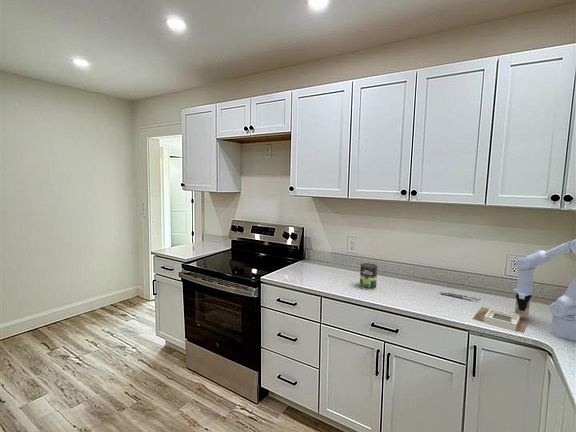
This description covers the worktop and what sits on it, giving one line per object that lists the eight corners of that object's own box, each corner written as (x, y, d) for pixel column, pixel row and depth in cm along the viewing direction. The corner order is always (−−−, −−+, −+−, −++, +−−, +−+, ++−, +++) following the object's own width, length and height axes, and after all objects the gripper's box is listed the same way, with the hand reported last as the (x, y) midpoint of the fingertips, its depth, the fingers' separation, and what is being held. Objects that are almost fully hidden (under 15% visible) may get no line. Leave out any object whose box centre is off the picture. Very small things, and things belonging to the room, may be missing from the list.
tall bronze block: (515, 311, 152) (517, 295, 151) (528, 314, 149) (530, 298, 148) (515, 312, 150) (516, 297, 150) (527, 316, 147) (529, 299, 146)
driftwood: (438, 295, 183) (438, 291, 183) (441, 292, 188) (441, 288, 188) (479, 304, 170) (479, 300, 170) (481, 301, 176) (481, 297, 175)
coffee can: (374, 291, 187) (375, 268, 185) (357, 288, 192) (358, 266, 190) (378, 286, 196) (379, 264, 194) (361, 283, 201) (362, 262, 199)
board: (529, 320, 149) (529, 318, 149) (523, 334, 135) (524, 333, 135) (481, 308, 163) (481, 306, 163) (471, 320, 149) (472, 318, 148)
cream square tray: (489, 314, 154) (490, 308, 153) (519, 322, 146) (520, 316, 145) (484, 322, 145) (484, 316, 145) (515, 330, 137) (516, 324, 137)
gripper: (516, 277, 156) (514, 303, 157) (512, 283, 145) (509, 311, 147) (534, 280, 151) (532, 307, 152) (531, 287, 141) (528, 315, 142)
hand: (522, 309), depth 149 cm, fingers closed on tall bronze block, 2 cm apart
